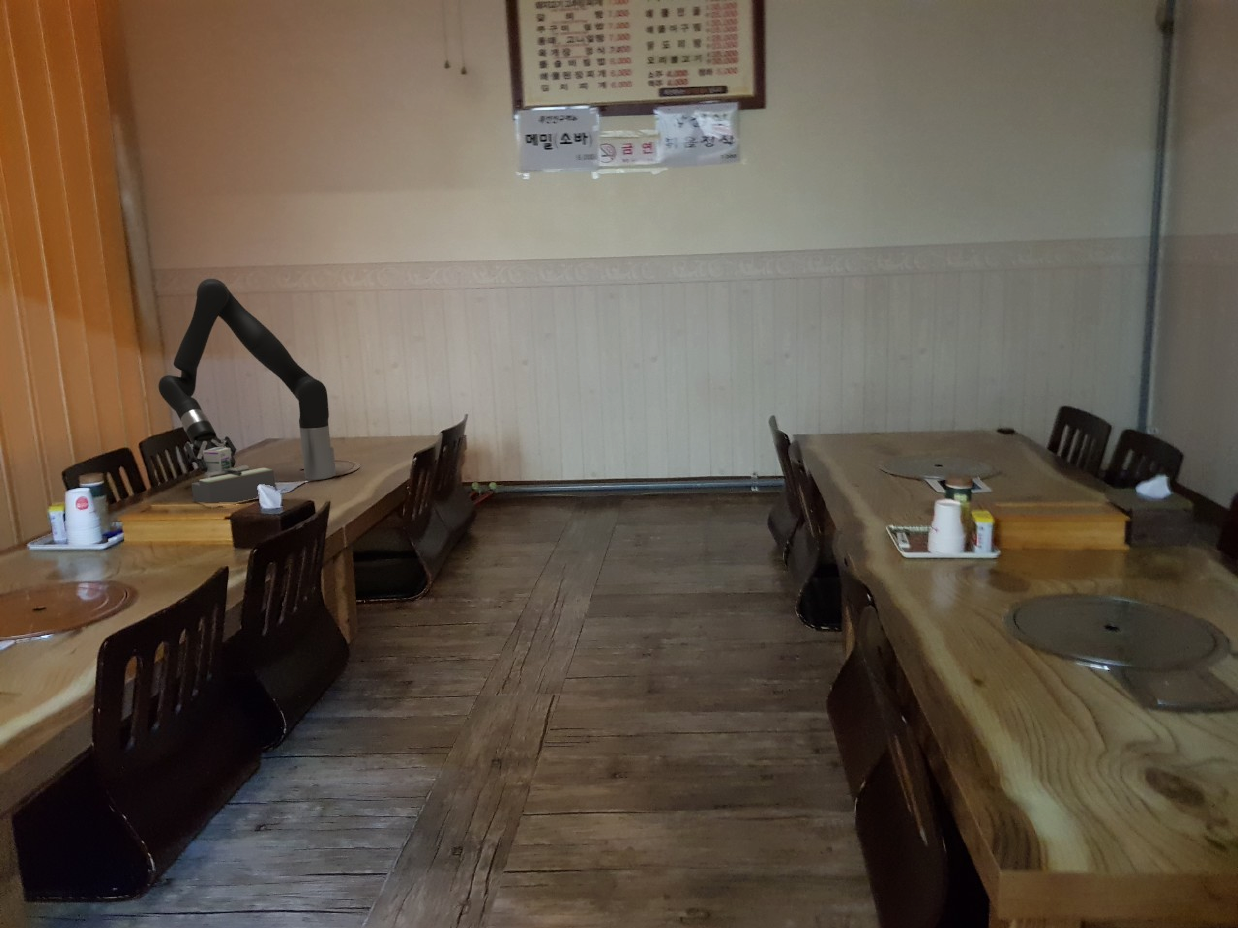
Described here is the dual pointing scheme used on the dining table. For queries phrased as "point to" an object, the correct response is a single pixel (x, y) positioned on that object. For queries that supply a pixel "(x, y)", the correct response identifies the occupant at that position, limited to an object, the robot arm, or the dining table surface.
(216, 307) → the robot arm
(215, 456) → the syrup box
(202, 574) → the dining table surface
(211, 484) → the block
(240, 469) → the gauge pad
